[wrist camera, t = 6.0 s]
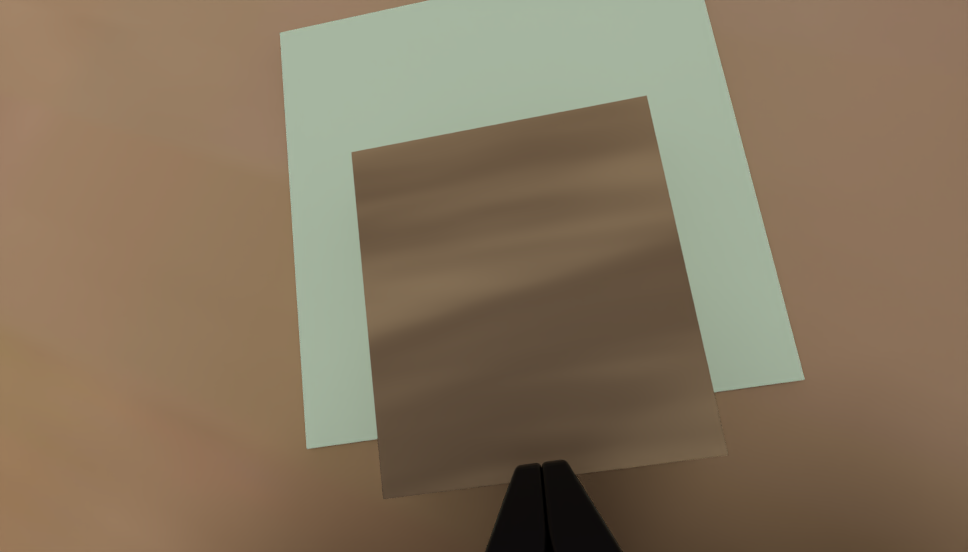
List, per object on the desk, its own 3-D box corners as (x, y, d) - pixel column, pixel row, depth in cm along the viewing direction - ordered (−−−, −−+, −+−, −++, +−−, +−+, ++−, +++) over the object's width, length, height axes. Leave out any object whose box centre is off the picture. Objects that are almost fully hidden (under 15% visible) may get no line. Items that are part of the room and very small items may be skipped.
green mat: (799, 379, 15) (804, 380, 15) (311, 447, 16) (306, 449, 16) (687, -49, 18) (689, -56, 18) (283, 38, 20) (280, 32, 19)
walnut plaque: (728, 455, 12) (646, 95, 14) (383, 499, 13) (351, 152, 15) (700, 444, 15) (633, 138, 17) (410, 482, 16) (379, 185, 18)
